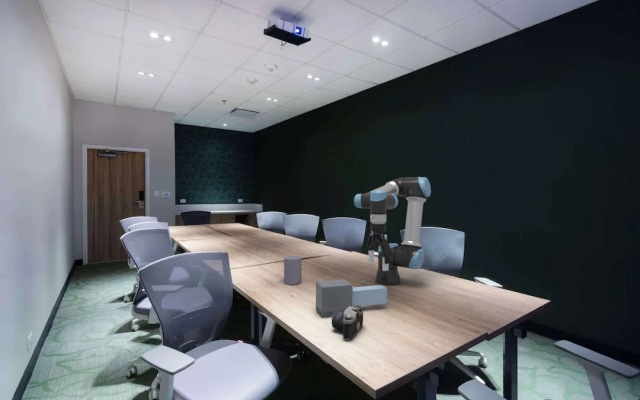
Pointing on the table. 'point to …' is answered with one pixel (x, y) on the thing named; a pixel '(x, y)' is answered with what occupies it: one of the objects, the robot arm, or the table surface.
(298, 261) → the container
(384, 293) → the tall blue-grey block
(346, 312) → the camera
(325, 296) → the dispenser
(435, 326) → the table surface
